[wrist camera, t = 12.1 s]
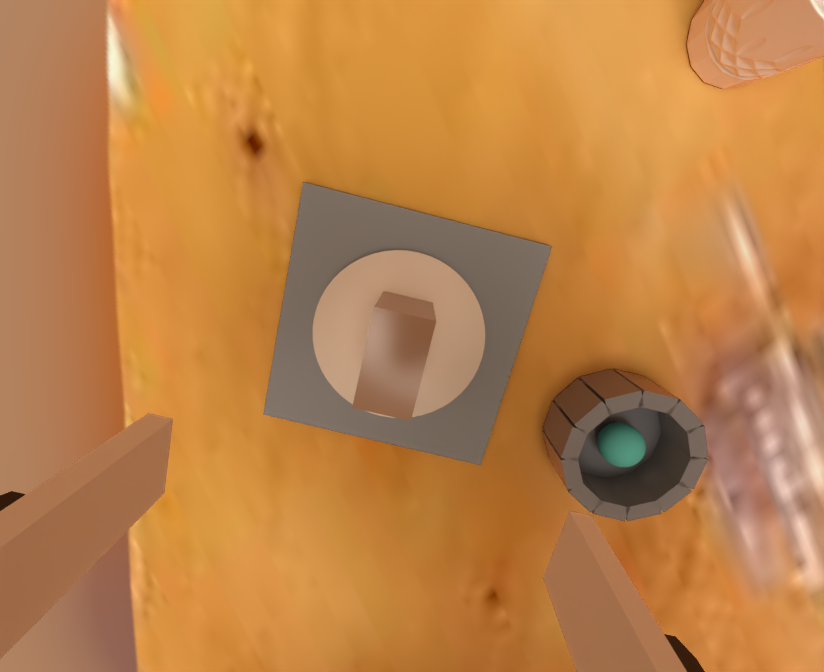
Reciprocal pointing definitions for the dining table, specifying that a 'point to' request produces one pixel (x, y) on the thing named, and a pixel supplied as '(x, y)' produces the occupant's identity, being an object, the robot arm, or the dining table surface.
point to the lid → (398, 334)
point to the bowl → (652, 416)
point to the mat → (410, 230)
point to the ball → (621, 444)
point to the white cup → (754, 39)
